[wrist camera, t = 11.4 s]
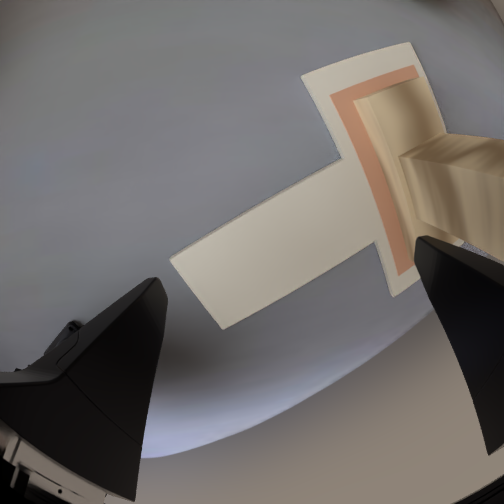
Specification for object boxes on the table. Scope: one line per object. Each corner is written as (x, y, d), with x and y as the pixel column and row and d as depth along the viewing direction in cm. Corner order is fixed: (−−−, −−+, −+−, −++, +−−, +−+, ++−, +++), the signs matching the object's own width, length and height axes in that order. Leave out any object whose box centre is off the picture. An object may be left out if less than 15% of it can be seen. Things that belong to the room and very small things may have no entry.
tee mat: (260, 371, 25) (261, 376, 24) (118, 179, 17) (115, 181, 16) (464, 237, 23) (469, 239, 23) (405, 43, 16) (410, 41, 15)
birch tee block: (408, 258, 22) (518, 340, 10) (352, 100, 17) (514, 80, 5) (451, 226, 22) (557, 284, 10) (407, 79, 16) (548, 66, 4)
